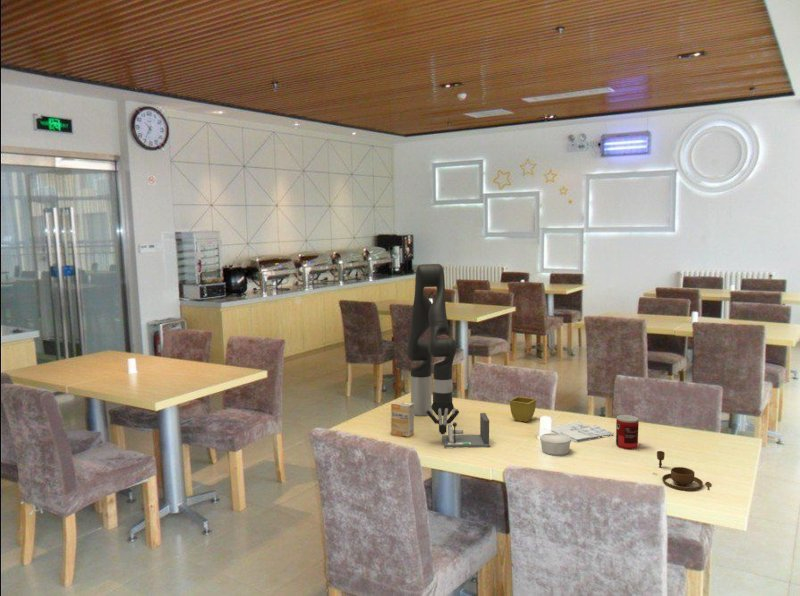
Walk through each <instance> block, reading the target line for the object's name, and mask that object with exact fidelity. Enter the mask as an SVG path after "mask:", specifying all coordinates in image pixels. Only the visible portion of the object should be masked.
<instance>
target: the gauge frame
mask: <svg viewBox="0 0 800 596" xmlns="http://www.w3.org/2000/svg"><path fill="white" fill-rule="evenodd" d="M479 418H480V419H479V421H480V422H479V423H480V424H479V430H480V432H479V434H455V440H456V443H452V442H450V441H449V437H448V434H441V439H443V440H442V444H443V443H444V444H443V446H444V447H468V448H490V446H491V445H490V419H489V418H488V415H487V414H486V412H480V415H479ZM453 440H454V434H453Z"/></svg>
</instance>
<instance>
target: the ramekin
mask: <svg viewBox="0 0 800 596" xmlns="http://www.w3.org/2000/svg"><path fill="white" fill-rule="evenodd" d="M539 440H540V445H541V450H542V451H543V453H545V454H548V455H550V456H551V455H552V456H565V455H566V454H567V453H569V451H570V446H571V442H572V441H571V438H570V437H569V436H567V435H563V434H557V433H554V432H550V433H544V434H541V435H540V436H539Z"/></svg>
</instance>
